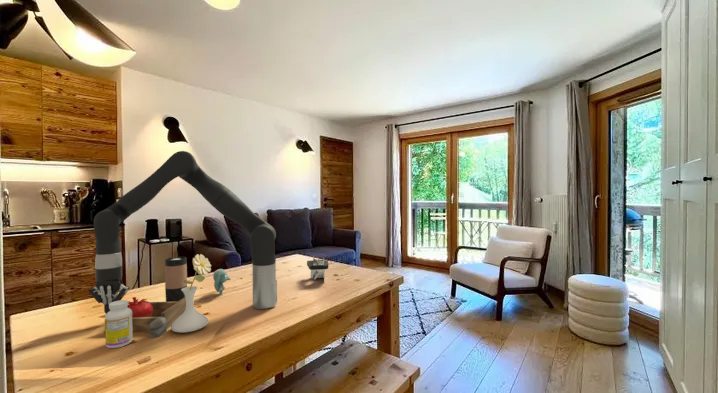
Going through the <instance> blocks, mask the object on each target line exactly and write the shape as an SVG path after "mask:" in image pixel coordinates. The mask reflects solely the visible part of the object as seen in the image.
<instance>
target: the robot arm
mask: <svg viewBox="0 0 718 393" xmlns="http://www.w3.org/2000/svg"><path fill="white" fill-rule="evenodd" d="M177 178H180V179H181V180H183V181H184V182H186V183H187V184H188V185H189V186H191V187H192V188H193V189H195V190H196V191H197V192H198V193H199V194H200V195H201V196H202V198H204V199H205V200H206V201H207V202H208V204H210V205H211V207H213V208H214V209H215V210H216V211H218V212H219V214H221V215H223V216H224V217H226V218H227V219H229V220H230V221H231V222H234V223H236V224H238V225H240V226H241V227H242V228H243V229H245V231H246V232H248V234H250V254H251V255H250V256H251V262H252V263H251V265H252V266H251V267H252V268H251V269H252V270H251V271H252V272H251V273H252V279H251V280H252V307H253V308H255V309H257V310H258V309H260V310H264V309H270V308H275V307H276V305H277V303H278V280H277V279H276V278H277V277H276V276H277V274H276V273H277V270H276V268H277V266H276V263H277V262H276V260H277V257H276V247H275V246H276V245H275V244H276V243H275V242H276V241H275V240H276V238H277V232H276V229H275V228H274V226H272V225H271V224H270V223H268V222H267V221H265V220H263V218H261V217H260V216H258V215H257V214H255V212H254V211H252V209H251V208H250V207H248V205H247V204H246V203H245V202H243V201H242V199H240V198H239V197H238V196H237V195H236V194H235V193H234V192H233V191H232V190H230V188H228V187H227V186H225V185H224V184H223V183H220V182H219V181H217V180H216V179H213V178H212V177H211V176H209V175H208V173H207V172H206V171H204V170H203V168H201V166H200V165H199V164H198V163H197V161H196V158H195V156H194V155H193V154H192V153H191V152H189V151H186V150H185V151H184V150H179V151H177V152H175V153H172V155H171V156H169V158H167V160H165V162H164V163H163V164H162V165H161V166H160V167H159V168H157V169H156V170H155V171H154V172H153V173H152V174H151V175H149V176H148V177H147V178H145V179H144V180H143V181H142V182H140V183H139V184H138V185H136V186H135V187H134V188H132V189H131V190H129V191H128V192H126V193H125V194H123V195H122V196H121V197H120V198H119V199H118V200H117V201H116V202H114V203H112V204H111V205H110V206H108V207H106V208H105V209H103V210H101V211H99V212H97V214H95V216H94V218H93V229H94V230H93V231H94V236H95V260H94V264H95V267H94V268H95V269H94V270H95V271H94V272H95V278H94V279H95V280H96V283H95V286H93V287H92V288H91V289H88V293H89V294H90V295H91V296H92V298H94V300H95V301H96V302H97V303H98V304H103V307H104V310H103V311H104V314H105V315H106V314H107V313H108V312H109V311H110V309H109V304H110V303H112V302H115V301H119V300H123V298H124V296H126V294H127V293H128V292H129V290H130V289H131V287H130V286H125V285H124V282H123V280H122V278H123V256H122V242H121V241H122V240H121V238H120V224H122V223H124V221H125V220H126V219H128V218H129V217H131V215H133V214H134V213H136V212H138V211H139V210H141V209H142V208H143V207H145V206H146V205H147V204H149V203H150V202H151V201H152V200H153V199H155V197H156V196H157V195H159V194H160V192H161V191H162V190H163V188H165V187H166V186H167V185H168V184H169V183H170V182H172V181H173V180H174V179H177Z"/></svg>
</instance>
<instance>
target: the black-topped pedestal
mask: <svg viewBox="0 0 718 393" xmlns="http://www.w3.org/2000/svg"><path fill="white" fill-rule="evenodd" d="M312 258H313V259H312V260H307V261H306V265H307V267H308V269H309V270H310V278H311V279H312V280H313V281H315V280H316V279H317V278H318V279H321V278H323V283H325V284H326V282H325V279H326V278H325V276H326V275H325V270H328V269H329V260H327V259H325V258H322V259H315V256H313V257H312Z"/></svg>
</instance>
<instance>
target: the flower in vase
mask: <svg viewBox="0 0 718 393" xmlns="http://www.w3.org/2000/svg"><path fill="white" fill-rule="evenodd" d="M191 263H192V265H193V270H194V271H195V274H194V277H193V280H192V281H190V280H187V281H186V280H184V283H185V284H187V285H190V286H187V287H185V288H182V289H181V290H182V291H183V293H184V295H185V298H186V310H185V311H184V313H183V314H182V315H180V316H179V317H178V318H177V319H176V320H175V321H174V322H173V323H172V325H171V326H170V329H171V331H172V332H175V333H181V334H182V333H183V334H184V333H192V332H195V331H198V330H200V329H203V328H204V327H205V326H206V325H208V323H209V317H207V316H206V315H205V314H203V313H201V312H199V311H198V310H196V309H195V306H194V300H195V294H196V291H197V290H198V289H199V288H198V286H195V285H193V284H194V282H195V281H197V282H198V283H201V282H203V281H204V280H205V279H206V277H205V276H207V275H208V274H209V273H211V271H212V268H211V267H212V264H211V261H209V258H208V257H205V255H204V254H202V253H200V254H198V253H197V254H196V255H194V257H192V262H191ZM197 274H198V275H197Z"/></svg>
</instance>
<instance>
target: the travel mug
mask: <svg viewBox="0 0 718 393" xmlns="http://www.w3.org/2000/svg"><path fill="white" fill-rule="evenodd" d="M164 260H165V262H164V264H165V266H164V267H165V268H164V270H165V272H164V275H165V276H164V277H165V278H164V279H165V280H164V287H165V288H164V290H165V302H174V301H180V300H181V299H183V298H184V297H185V295H184V293H183V291H182V290H181V289H182V288H185V287H188V284H185V283H184V280H186V281H188V270H187V269H188V265H187V264H188V262H187V261H188V260H187V257H186V256H178V257H166V258H165V259H164Z"/></svg>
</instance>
